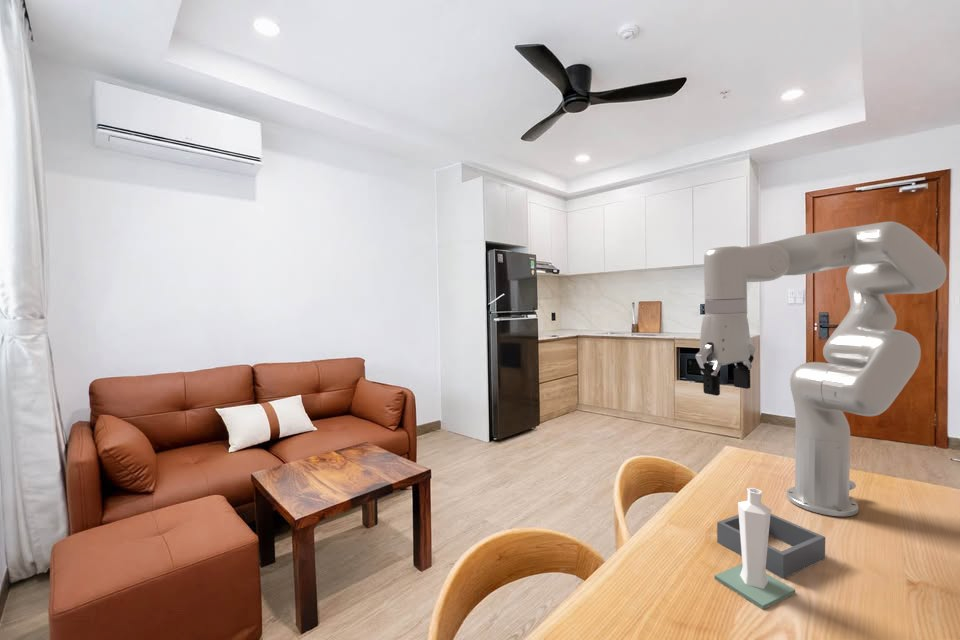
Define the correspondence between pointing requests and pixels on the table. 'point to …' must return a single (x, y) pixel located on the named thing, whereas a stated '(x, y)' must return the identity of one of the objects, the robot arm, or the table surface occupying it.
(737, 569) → the mat
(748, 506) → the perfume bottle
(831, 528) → the table surface
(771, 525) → the bin
